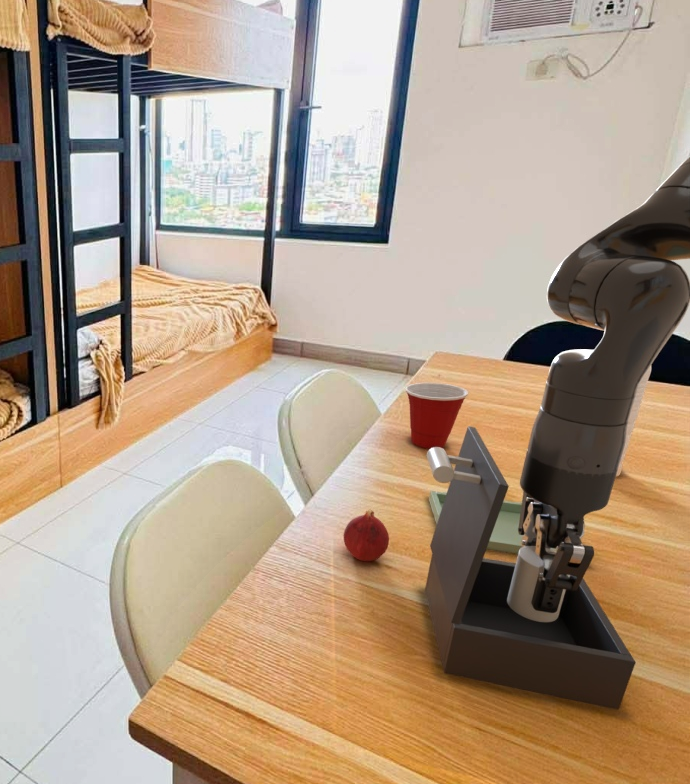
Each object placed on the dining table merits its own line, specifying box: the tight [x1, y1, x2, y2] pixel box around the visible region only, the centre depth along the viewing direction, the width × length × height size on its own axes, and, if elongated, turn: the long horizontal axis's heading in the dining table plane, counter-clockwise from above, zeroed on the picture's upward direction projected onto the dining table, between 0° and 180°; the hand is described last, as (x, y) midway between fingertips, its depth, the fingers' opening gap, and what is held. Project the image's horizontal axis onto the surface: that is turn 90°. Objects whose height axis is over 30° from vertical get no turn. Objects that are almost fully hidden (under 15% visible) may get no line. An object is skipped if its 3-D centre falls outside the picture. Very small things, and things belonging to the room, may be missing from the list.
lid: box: [426, 425, 510, 625], centre depth 69 cm, size 17×15×5 cm
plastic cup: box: [404, 382, 469, 450], centre depth 122 cm, size 11×11×12 cm
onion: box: [342, 509, 390, 562], centre depth 87 cm, size 6×6×8 cm
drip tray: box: [428, 490, 557, 555], centre depth 94 cm, size 18×14×2 cm
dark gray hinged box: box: [424, 554, 636, 710], centre depth 71 cm, size 16×15×7 cm
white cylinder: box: [507, 546, 566, 622], centre depth 68 cm, size 5×5×6 cm
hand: (535, 593), depth 69 cm, fingers closed on white cylinder, 4 cm apart
